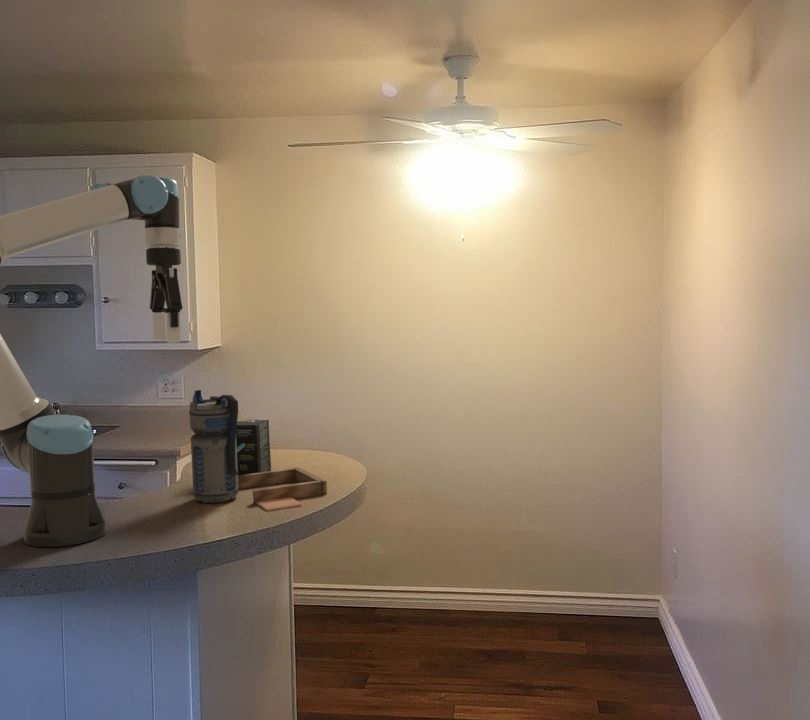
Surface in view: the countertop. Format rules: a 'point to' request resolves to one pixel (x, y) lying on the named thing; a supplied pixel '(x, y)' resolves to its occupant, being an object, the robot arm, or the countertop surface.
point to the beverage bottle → (214, 448)
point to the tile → (279, 503)
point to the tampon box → (253, 446)
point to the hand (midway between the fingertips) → (166, 341)
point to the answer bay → (303, 488)
